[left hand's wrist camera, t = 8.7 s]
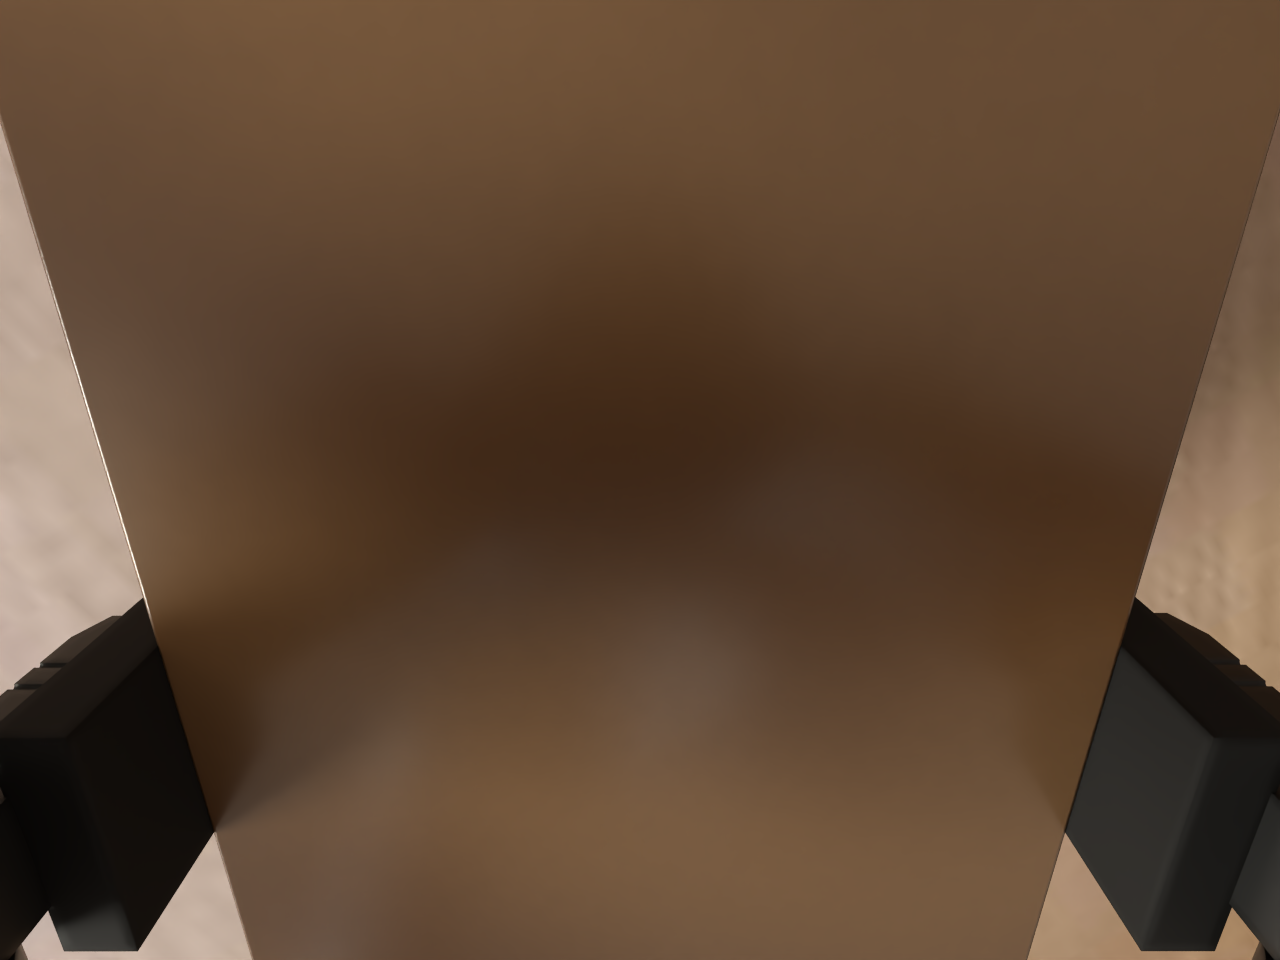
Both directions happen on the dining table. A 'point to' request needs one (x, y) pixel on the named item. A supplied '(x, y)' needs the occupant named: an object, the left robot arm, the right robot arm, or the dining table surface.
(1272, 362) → the dining table surface
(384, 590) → the cabinet
